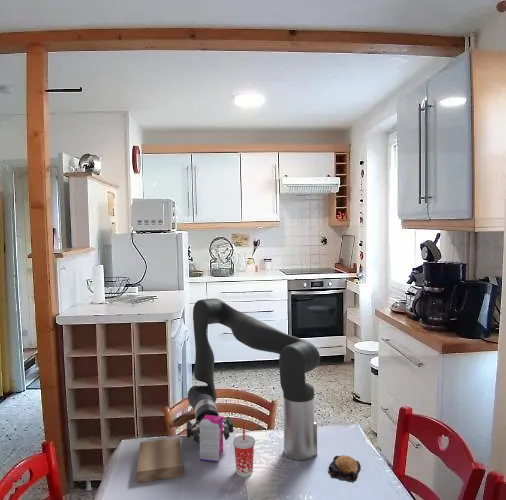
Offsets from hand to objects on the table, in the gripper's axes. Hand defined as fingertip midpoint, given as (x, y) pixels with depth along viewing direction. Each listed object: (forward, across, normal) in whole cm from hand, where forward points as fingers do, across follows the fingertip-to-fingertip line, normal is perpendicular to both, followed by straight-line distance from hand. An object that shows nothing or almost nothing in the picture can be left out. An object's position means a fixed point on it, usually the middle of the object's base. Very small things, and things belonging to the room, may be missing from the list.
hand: (212, 438), depth 122 cm
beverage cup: (+8, +8, +7) cm, 13 cm away
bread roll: (+14, +35, +7) cm, 39 cm away
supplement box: (-2, 0, +7) cm, 7 cm away
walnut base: (-2, -15, +6) cm, 16 cm away
